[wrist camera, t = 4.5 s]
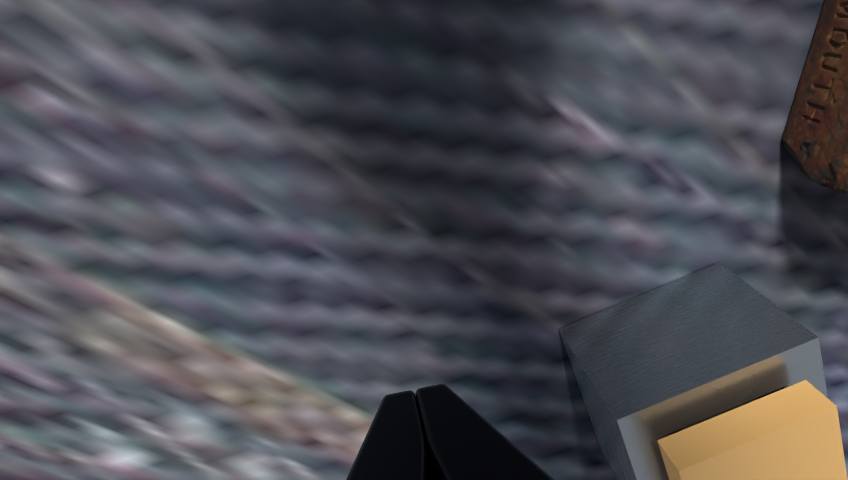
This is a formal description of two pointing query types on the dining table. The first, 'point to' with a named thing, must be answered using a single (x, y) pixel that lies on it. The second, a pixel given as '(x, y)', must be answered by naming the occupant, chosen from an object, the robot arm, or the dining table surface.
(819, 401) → the button
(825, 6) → the brown wedge block
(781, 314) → the box
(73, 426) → the dining table surface
